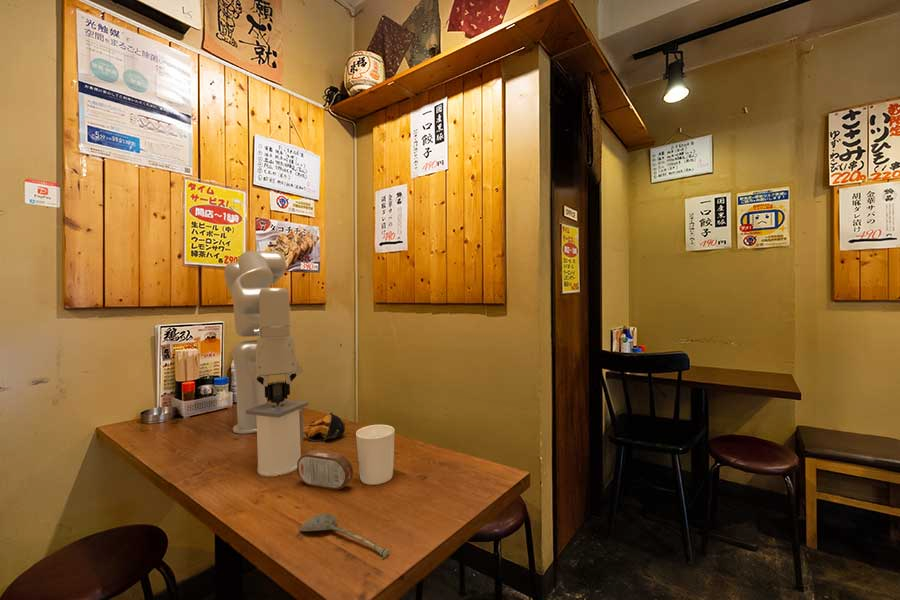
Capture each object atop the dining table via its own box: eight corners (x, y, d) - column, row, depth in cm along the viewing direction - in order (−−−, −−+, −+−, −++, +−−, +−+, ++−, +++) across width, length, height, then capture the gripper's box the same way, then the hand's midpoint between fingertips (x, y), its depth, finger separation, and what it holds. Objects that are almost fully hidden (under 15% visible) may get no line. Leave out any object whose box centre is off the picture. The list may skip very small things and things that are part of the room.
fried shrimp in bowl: (348, 427, 124) (290, 417, 117) (337, 454, 127) (280, 445, 120) (348, 409, 132) (294, 399, 126) (338, 434, 135) (285, 425, 129)
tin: (354, 487, 95) (353, 453, 95) (346, 493, 92) (345, 458, 92) (304, 479, 100) (302, 446, 99) (295, 485, 97) (294, 451, 96)
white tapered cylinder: (362, 490, 93) (361, 441, 93) (353, 473, 102) (351, 428, 102) (401, 480, 98) (399, 433, 97) (388, 465, 106) (387, 422, 106)
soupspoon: (320, 518, 84) (293, 536, 78) (318, 503, 84) (292, 520, 78) (398, 548, 72) (373, 572, 66) (396, 531, 72) (372, 553, 66)
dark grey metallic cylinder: (279, 436, 112) (277, 379, 111) (300, 439, 109) (298, 380, 109) (257, 446, 105) (255, 385, 104) (279, 450, 102) (277, 386, 102)
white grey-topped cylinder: (286, 452, 117) (284, 396, 116) (316, 457, 113) (314, 399, 112) (247, 473, 104) (245, 410, 103) (280, 479, 100) (278, 413, 100)
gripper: (240, 335, 99) (242, 406, 100) (308, 331, 106) (310, 397, 107) (242, 333, 106) (244, 399, 107) (306, 329, 113) (308, 391, 114)
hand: (277, 398), depth 107 cm, fingers closed on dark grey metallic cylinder, 3 cm apart
